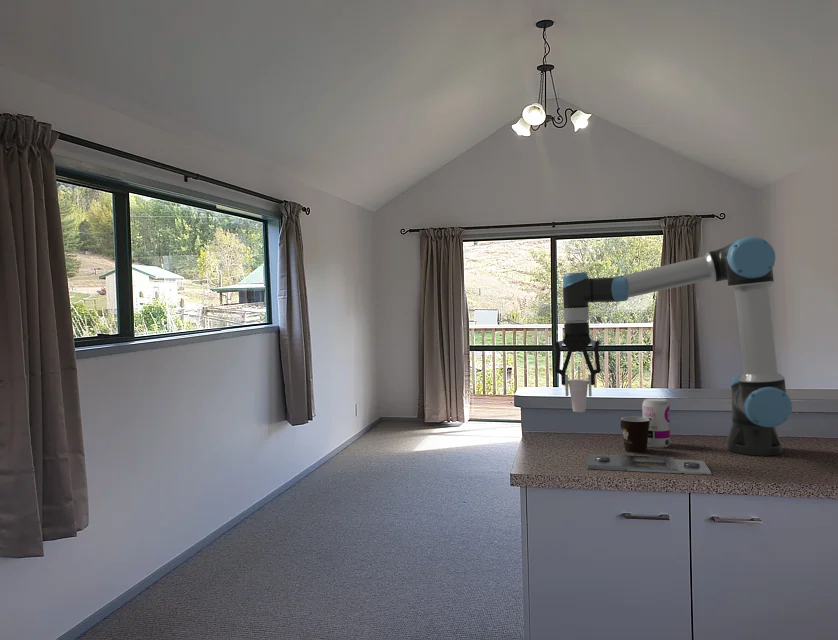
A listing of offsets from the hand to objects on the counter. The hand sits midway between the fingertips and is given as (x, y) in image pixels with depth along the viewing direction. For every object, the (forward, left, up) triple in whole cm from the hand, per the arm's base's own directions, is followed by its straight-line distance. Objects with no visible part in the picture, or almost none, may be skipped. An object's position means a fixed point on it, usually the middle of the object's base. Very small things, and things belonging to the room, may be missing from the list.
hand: (578, 395), depth 191 cm
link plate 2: (-24, +12, -18) cm, 32 cm away
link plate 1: (-15, +12, -18) cm, 26 cm away
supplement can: (-24, -15, -18) cm, 34 cm away
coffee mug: (-17, -8, -18) cm, 26 cm away
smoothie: (0, 0, -5) cm, 5 cm away
